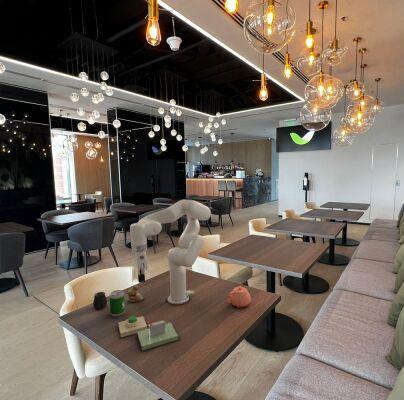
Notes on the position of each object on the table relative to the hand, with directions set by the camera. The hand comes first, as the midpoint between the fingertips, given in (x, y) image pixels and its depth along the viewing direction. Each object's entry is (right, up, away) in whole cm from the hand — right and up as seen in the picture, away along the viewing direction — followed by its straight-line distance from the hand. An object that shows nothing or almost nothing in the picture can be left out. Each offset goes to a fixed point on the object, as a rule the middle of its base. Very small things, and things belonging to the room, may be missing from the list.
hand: (141, 281), depth 137 cm
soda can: (-15, -20, +7) cm, 26 cm away
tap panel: (+12, -22, -14) cm, 28 cm away
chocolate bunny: (-10, -18, +22) cm, 30 cm away
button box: (-2, -21, -7) cm, 22 cm away
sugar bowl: (+51, -18, +16) cm, 57 cm away
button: (-2, -17, -7) cm, 19 cm away
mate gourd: (-28, -19, +14) cm, 36 cm away
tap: (+12, -19, -14) cm, 27 cm away
